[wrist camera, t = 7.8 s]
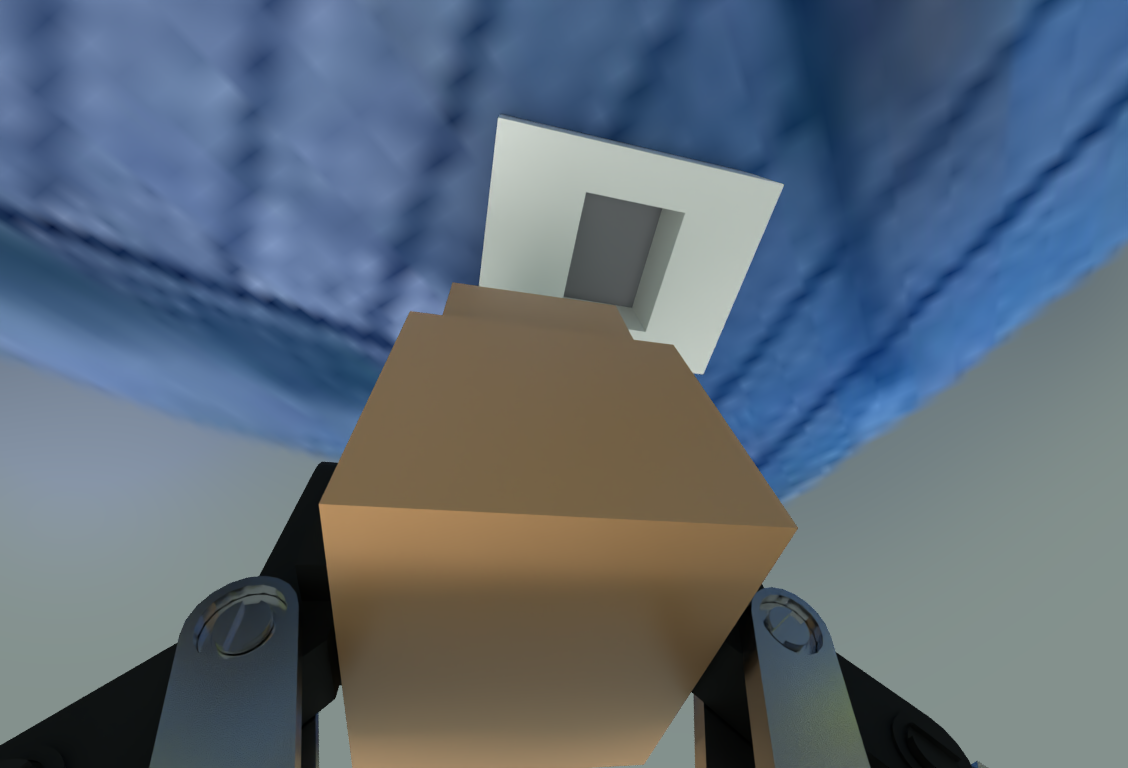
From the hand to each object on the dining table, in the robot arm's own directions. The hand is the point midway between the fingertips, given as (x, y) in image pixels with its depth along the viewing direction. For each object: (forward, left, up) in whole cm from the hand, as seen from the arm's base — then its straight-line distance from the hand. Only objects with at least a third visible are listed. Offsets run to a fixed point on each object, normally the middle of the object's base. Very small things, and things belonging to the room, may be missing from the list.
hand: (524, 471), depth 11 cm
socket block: (-5, -1, -20) cm, 20 cm away
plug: (0, 0, -4) cm, 4 cm away
